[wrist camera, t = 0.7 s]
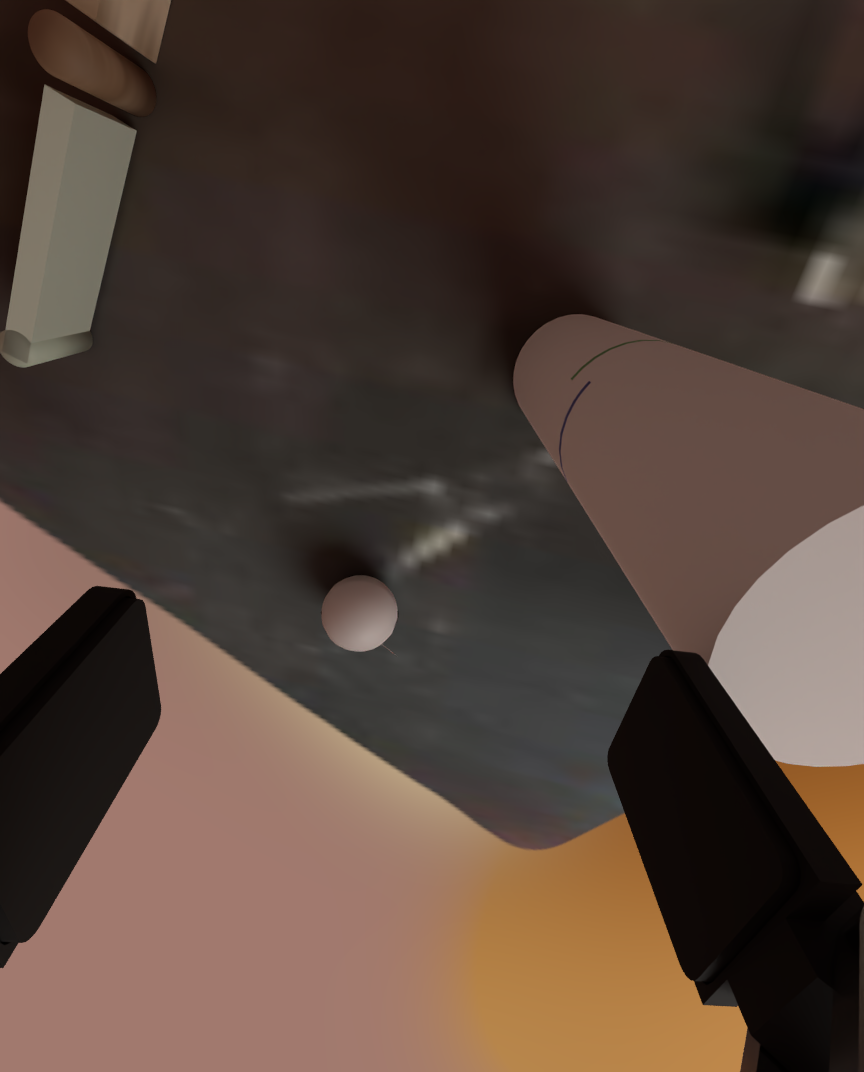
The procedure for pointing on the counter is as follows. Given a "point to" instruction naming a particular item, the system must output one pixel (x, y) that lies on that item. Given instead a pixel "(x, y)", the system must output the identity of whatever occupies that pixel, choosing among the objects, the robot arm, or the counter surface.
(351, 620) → the pinkish brown egg
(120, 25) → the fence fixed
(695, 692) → the robot arm
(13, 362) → the cream flat slab
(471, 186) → the counter surface
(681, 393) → the cylindrical container
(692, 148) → the counter surface
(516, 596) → the counter surface
